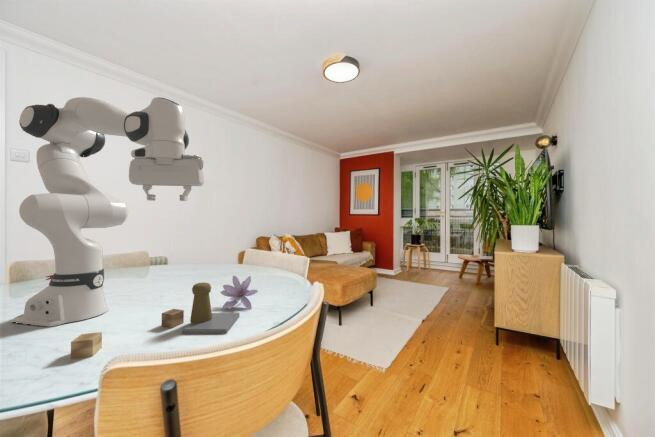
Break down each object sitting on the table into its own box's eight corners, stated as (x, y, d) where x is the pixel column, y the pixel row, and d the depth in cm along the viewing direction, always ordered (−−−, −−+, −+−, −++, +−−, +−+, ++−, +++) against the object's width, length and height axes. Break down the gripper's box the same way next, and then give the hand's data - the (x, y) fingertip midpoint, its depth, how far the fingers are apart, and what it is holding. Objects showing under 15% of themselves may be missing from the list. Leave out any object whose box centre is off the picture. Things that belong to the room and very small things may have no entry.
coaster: (182, 333, 71) (182, 329, 71) (202, 316, 83) (202, 313, 83) (226, 333, 72) (226, 329, 72) (239, 316, 84) (239, 313, 84)
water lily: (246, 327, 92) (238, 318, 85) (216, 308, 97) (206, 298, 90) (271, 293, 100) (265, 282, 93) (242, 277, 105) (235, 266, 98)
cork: (195, 315, 81) (195, 280, 81) (215, 315, 82) (215, 280, 81) (186, 323, 75) (186, 285, 75) (207, 323, 76) (208, 285, 75)
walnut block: (161, 326, 76) (161, 313, 76) (173, 321, 79) (173, 308, 79) (172, 328, 74) (172, 314, 74) (183, 323, 78) (183, 310, 78)
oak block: (70, 359, 58) (70, 341, 58) (81, 350, 62) (81, 334, 62) (92, 356, 59) (92, 339, 59) (101, 348, 63) (101, 332, 63)
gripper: (207, 157, 80) (207, 201, 80) (140, 156, 79) (139, 200, 79) (198, 152, 74) (198, 200, 74) (125, 150, 73) (124, 199, 73)
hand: (167, 200), depth 77 cm, fingers open, 8 cm apart
